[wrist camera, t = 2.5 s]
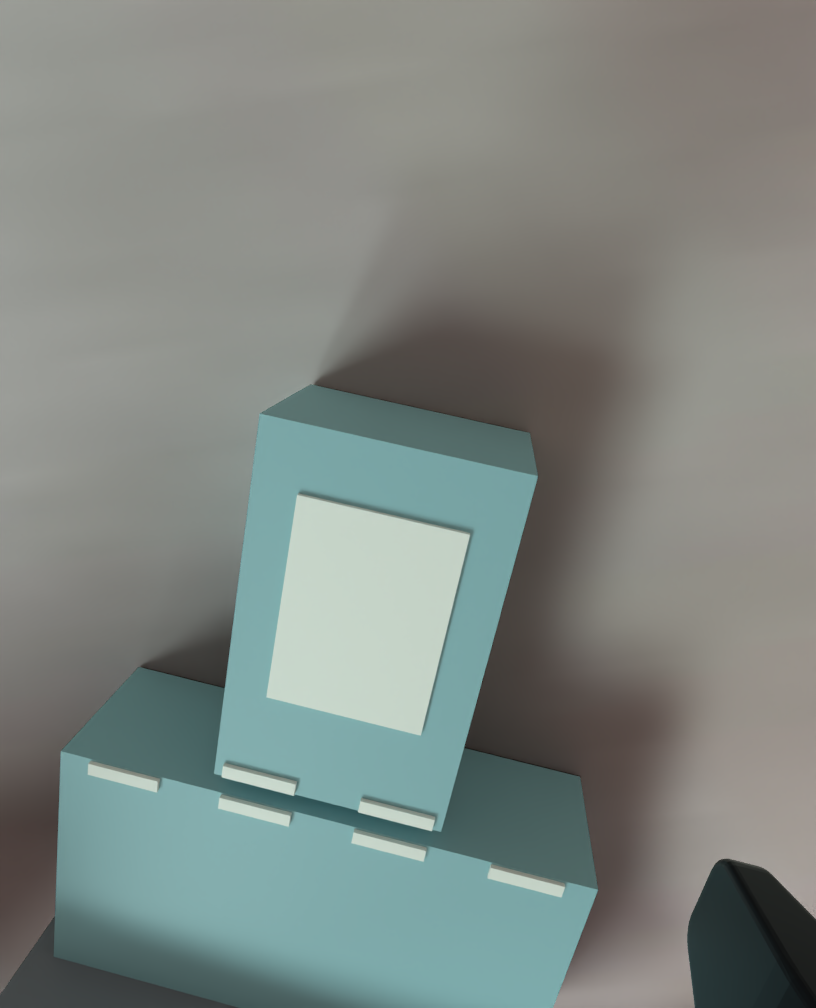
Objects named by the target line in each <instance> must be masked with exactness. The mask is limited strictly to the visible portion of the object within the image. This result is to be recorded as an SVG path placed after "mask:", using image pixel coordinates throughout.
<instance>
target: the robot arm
mask: <svg viewBox="0 0 816 1008" xmlns="http://www.w3.org/2000/svg"><path fill="white" fill-rule="evenodd" d="M687 943H688V953H689V962H690V970H691V978H692V987H693V995H694V1003H695V1008H816V919H815V918H814V917H813V916H812V915H811V914H810V913H809V912H808V911H807V910H806V909H805V908H804V907H803V906H802V905H801V904H800V903H799V902H798V901H797V900H796V899H795V898H794V897H793V896H792V895H791V894H790V893H789V892H788V891H787V890H786V889H785V888H784V887H783V885H782V884H781V883H780V882H779V881H778V880H777V879H776V878H775V877H774V876H773V875H772V874H770V873H769V872H768V871H767V870H765V869H764V868H761V867H759V866H755V865H751V864H747V863H743V862H739V861H735V860H731V859H721V860H719V861H718V862H717V863H716V864H715V865H714V867H713V869H712V870H711V873H710V875H709V877H708V879H707V882H706V884H705V886H704V888H703V890H702V893H701V895H700V897H699V899H698V902H697V904H696V906H695V908H694V910H693V913H692V915H691V918H690V921H689V926H688V934H687Z"/></svg>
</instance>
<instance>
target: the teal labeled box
mask: <svg viewBox="0 0 816 1008" xmlns="http://www.w3.org/2000/svg"><path fill="white" fill-rule="evenodd" d="M537 478H538V473H537V468H536V463H535V457H534V452H533V447H532V442H531V436H530V433H528V432H523V431H519V430H514V429H509V428H505V427H500V426H496V425H491V424H487V423H482V422H478V421H473V420H469V419H464V418H460V417H455V416H451V415H446V414H442V413H437V412H433V411H428V410H424V409H419V408H415V407H410V406H406V405H401V404H397V403H392V402H388V401H383V400H379V399H374V398H370V397H365V396H361V395H356V394H352V393H347V392H343V391H338V390H334V389H329V388H325V387H320V386H316V385H309V386H307V387H305V388H304V389H302V390H300V391H298V392H297V393H295V394H293V395H291V396H290V397H288V398H286V399H284V400H283V401H281V402H279V403H277V404H276V405H274V406H272V407H270V408H269V409H267V410H265V411H263V412H262V413H260V416H259V424H258V432H257V439H256V447H255V455H254V463H253V471H252V479H251V487H250V494H249V502H248V510H247V518H246V526H245V534H244V542H243V549H242V557H241V565H240V573H239V581H238V589H237V597H236V605H235V612H234V620H233V628H232V636H231V644H230V652H229V660H228V667H227V675H226V683H225V691H224V699H223V707H222V715H221V722H220V730H219V738H218V746H217V754H216V762H215V770H214V774H217V775H221V777H222V778H226V779H230V780H234V781H238V782H242V783H245V784H249V785H253V786H257V787H261V788H265V789H269V790H273V791H277V792H281V793H284V794H288V795H292V796H294V794H295V795H299V796H303V797H307V798H311V799H315V800H318V801H322V802H326V803H330V804H334V805H338V806H342V807H346V808H350V809H354V810H357V811H358V813H362V814H366V815H370V816H374V817H378V818H382V819H386V820H390V821H393V822H397V823H401V824H405V825H409V826H413V827H417V828H421V829H425V830H429V831H432V830H435V831H439V832H441V830H442V827H443V823H444V819H445V816H446V812H447V808H448V805H449V801H450V797H451V794H452V790H453V786H454V783H455V779H456V775H457V772H458V768H459V764H460V761H461V757H462V753H463V750H464V746H465V742H466V739H467V735H468V731H469V728H470V724H471V720H472V717H473V713H474V709H475V706H476V702H477V698H478V695H479V691H480V687H481V684H482V680H483V676H484V673H485V669H486V665H487V662H488V658H489V654H490V651H491V647H492V643H493V640H494V636H495V632H496V629H497V625H498V621H499V618H500V614H501V610H502V607H503V603H504V599H505V596H506V592H507V588H508V585H509V581H510V577H511V574H512V570H513V566H514V563H515V559H516V555H517V552H518V548H519V544H520V541H521V537H522V533H523V530H524V526H525V522H526V519H527V515H528V511H529V508H530V504H531V500H532V497H533V493H534V489H535V486H536V482H537Z"/></svg>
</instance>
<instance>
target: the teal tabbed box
mask: <svg viewBox="0 0 816 1008" xmlns="http://www.w3.org/2000/svg"><path fill="white" fill-rule="evenodd" d="M224 691H225V688H221V687H217V686H213V685H209V684H205V683H201V682H197V681H193V680H189V679H185V678H181V677H177V676H173V675H169V674H165V673H161V672H157V671H153V670H149V669H145V668H141V667H138V668H137V669H136V671H135V672H134V673H133V674H132V675H131V676H130V677H129V678H128V679H127V680H126V681H125V682H124V683H123V685H122V686H121V687H120V688H119V689H118V690H117V691H116V692H115V693H114V694H113V695H112V696H111V698H110V699H109V700H108V701H107V702H106V703H105V704H104V705H103V706H102V707H101V708H100V709H99V710H98V712H97V713H96V714H95V715H94V716H93V717H92V718H91V719H90V720H89V721H88V722H87V723H86V725H85V726H84V727H83V728H82V729H81V730H80V731H79V732H78V733H77V734H76V735H75V736H74V737H73V739H72V740H71V741H70V742H69V743H68V744H67V745H66V746H65V747H64V748H63V749H62V750H61V759H60V788H59V817H58V845H57V874H56V902H55V917H54V918H53V920H52V921H51V923H50V924H49V925H48V927H47V928H46V930H45V931H44V933H43V934H42V935H41V937H40V938H39V940H38V941H37V943H36V944H35V946H34V947H33V948H32V950H31V951H30V953H29V954H28V956H27V957H26V958H25V960H24V961H23V963H22V964H21V966H20V967H19V969H18V970H17V971H16V973H15V974H14V976H13V977H12V979H11V980H10V981H9V983H8V984H7V986H6V987H5V989H4V990H3V992H2V993H1V994H0V1008H553V1006H554V1004H555V1001H556V998H557V996H558V993H559V991H560V988H561V985H562V983H563V980H564V978H565V975H566V972H567V970H568V967H569V965H570V962H571V959H572V957H573V954H574V951H575V949H576V946H577V944H578V941H579V938H580V936H581V933H582V931H583V928H584V925H585V923H586V920H587V918H588V915H589V912H590V910H591V907H592V905H593V902H594V899H595V897H596V894H597V892H598V886H597V880H596V873H595V867H594V861H593V855H592V848H591V842H590V836H589V830H588V823H587V817H586V811H585V804H584V798H583V792H582V786H581V779H580V777H579V776H575V775H571V774H567V773H563V772H559V771H555V770H551V769H547V768H543V767H539V766H534V765H530V764H526V763H522V762H518V761H514V760H510V759H506V758H502V757H498V756H494V755H490V754H486V753H482V752H478V751H474V750H470V749H466V748H464V750H463V753H462V757H461V761H460V764H459V768H458V772H457V775H456V779H455V783H454V786H453V790H452V794H451V797H450V801H449V805H448V808H447V812H446V816H445V819H444V823H443V827H442V830H441V832H439V831H435V830H432V831H429V830H425V829H421V828H417V827H413V826H409V825H405V824H401V823H397V822H393V821H390V820H386V819H382V818H378V817H374V816H370V815H366V814H362V813H358V811H357V810H354V809H350V808H346V807H342V806H338V805H334V804H330V803H326V802H322V801H318V800H315V799H311V798H307V797H303V796H299V795H295V794H294V796H292V795H288V794H284V793H281V792H277V791H273V790H269V789H265V788H261V787H257V786H253V785H249V784H245V783H242V782H238V781H234V780H230V779H226V778H222V777H221V775H217V774H214V770H215V762H216V754H217V746H218V738H219V730H220V722H221V715H222V707H223V699H224Z"/></svg>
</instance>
